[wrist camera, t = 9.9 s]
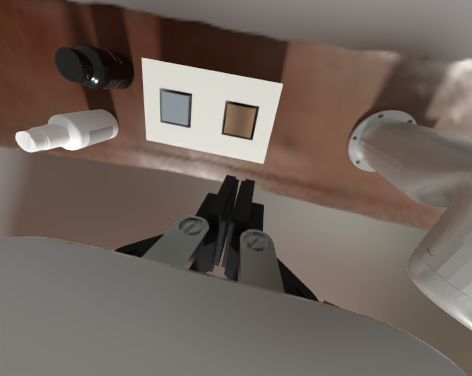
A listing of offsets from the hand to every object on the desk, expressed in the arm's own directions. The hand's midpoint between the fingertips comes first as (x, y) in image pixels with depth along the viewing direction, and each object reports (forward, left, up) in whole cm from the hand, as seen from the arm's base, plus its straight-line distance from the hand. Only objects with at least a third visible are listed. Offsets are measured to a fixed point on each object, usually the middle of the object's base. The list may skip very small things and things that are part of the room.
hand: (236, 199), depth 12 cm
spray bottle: (+36, +8, -35) cm, 51 cm away
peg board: (+9, 0, -35) cm, 36 cm away
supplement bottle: (+31, -4, -35) cm, 47 cm away
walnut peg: (+3, 0, -33) cm, 33 cm away
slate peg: (+15, 0, -33) cm, 36 cm away
